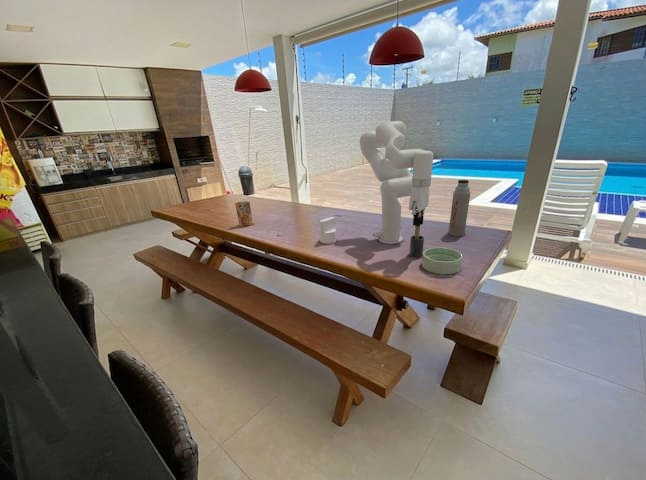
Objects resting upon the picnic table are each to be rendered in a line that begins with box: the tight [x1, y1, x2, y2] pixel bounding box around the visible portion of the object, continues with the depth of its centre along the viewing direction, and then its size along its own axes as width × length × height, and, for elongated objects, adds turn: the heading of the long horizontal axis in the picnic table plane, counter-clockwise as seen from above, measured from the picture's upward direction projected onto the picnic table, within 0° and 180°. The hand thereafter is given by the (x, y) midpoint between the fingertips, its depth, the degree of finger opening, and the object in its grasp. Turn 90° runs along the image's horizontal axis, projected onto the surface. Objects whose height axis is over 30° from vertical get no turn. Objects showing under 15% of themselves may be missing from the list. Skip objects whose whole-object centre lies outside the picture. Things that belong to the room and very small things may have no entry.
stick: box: [414, 213, 421, 239], centre depth 137 cm, size 2×2×18 cm
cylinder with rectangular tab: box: [318, 216, 338, 245], centre depth 163 cm, size 9×9×12 cm
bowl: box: [421, 246, 464, 275], centre depth 128 cm, size 15×15×6 cm
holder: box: [409, 234, 425, 258], centre depth 140 cm, size 6×6×9 cm
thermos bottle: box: [448, 179, 471, 237], centre depth 158 cm, size 8×8×28 cm
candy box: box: [234, 199, 254, 227], centre depth 197 cm, size 9×4×15 cm, turn 103°
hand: (417, 224), depth 135 cm, fingers closed on stick, 2 cm apart
